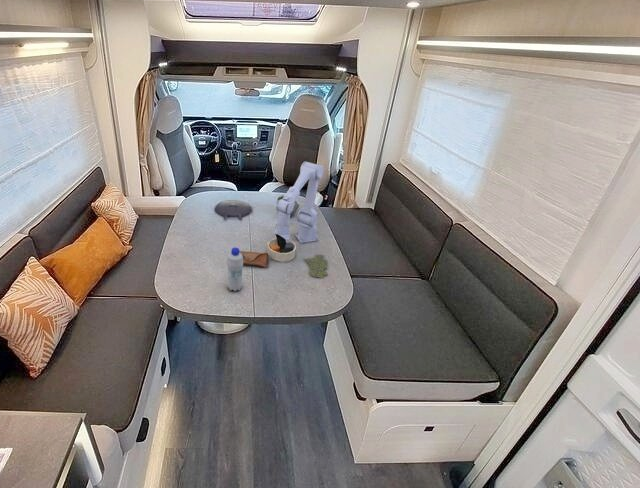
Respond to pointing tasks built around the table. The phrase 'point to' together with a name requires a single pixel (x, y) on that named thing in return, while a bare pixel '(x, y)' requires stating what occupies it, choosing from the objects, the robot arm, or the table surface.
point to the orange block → (275, 247)
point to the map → (317, 266)
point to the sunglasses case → (255, 259)
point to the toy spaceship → (233, 208)
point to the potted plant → (293, 208)
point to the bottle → (235, 269)
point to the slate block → (288, 248)
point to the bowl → (280, 256)
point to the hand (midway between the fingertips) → (281, 247)
